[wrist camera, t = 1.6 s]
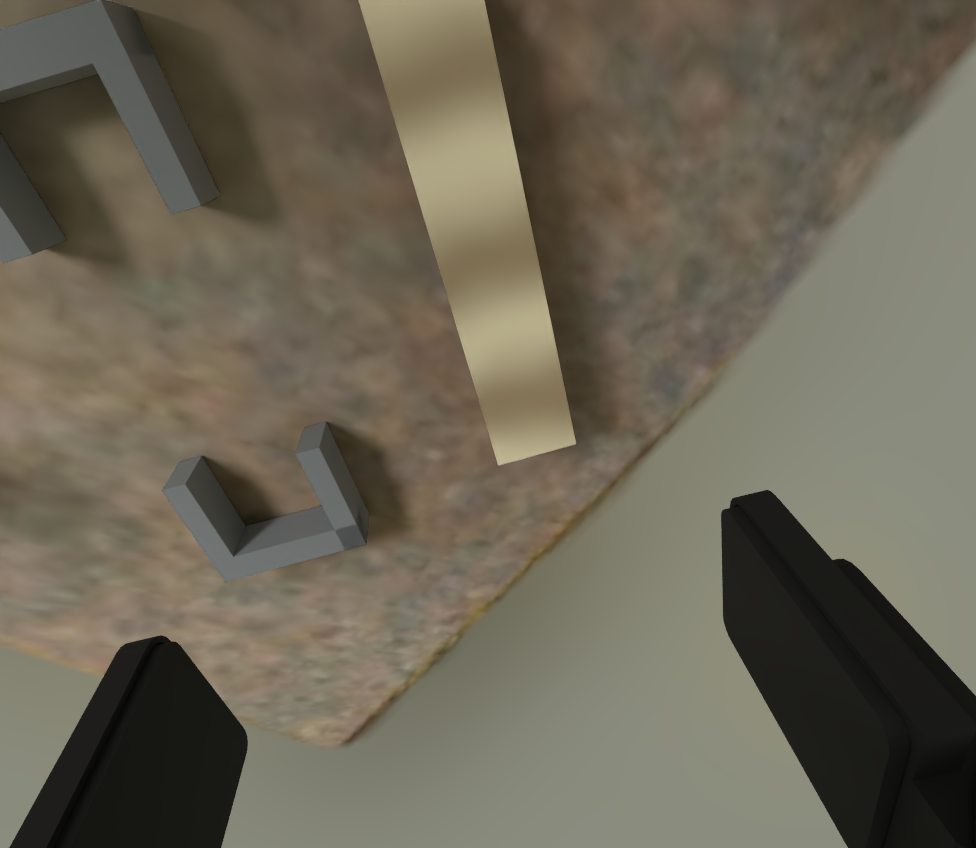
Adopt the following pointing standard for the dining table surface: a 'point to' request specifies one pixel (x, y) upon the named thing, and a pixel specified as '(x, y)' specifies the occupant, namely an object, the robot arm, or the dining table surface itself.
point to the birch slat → (474, 212)
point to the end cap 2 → (280, 537)
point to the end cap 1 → (133, 90)
